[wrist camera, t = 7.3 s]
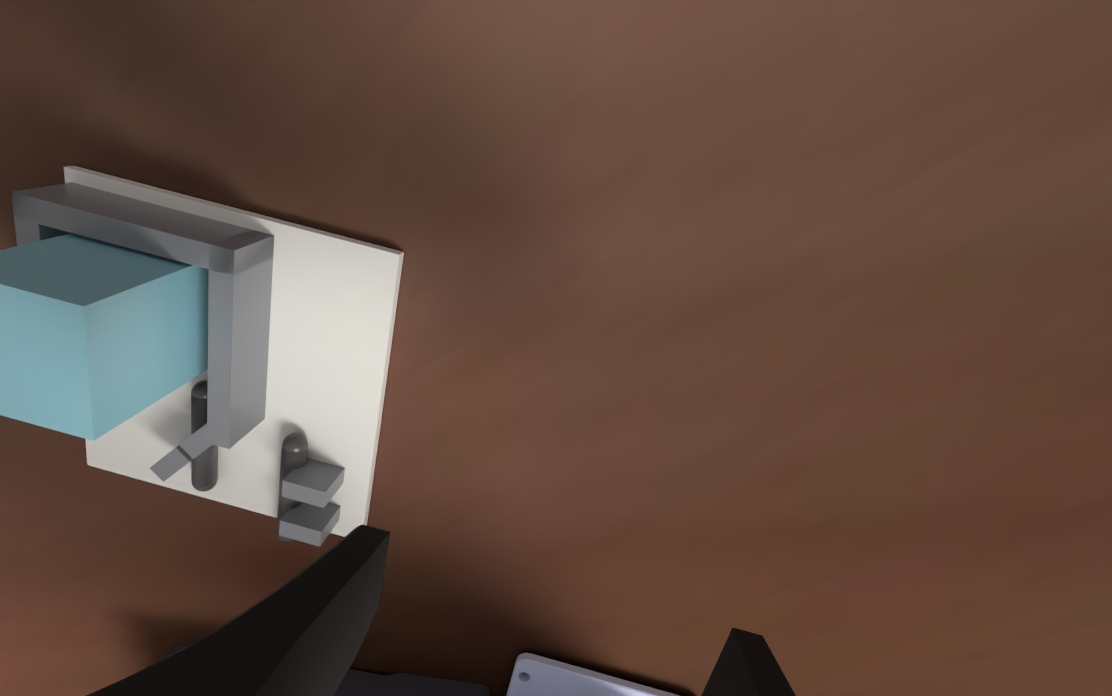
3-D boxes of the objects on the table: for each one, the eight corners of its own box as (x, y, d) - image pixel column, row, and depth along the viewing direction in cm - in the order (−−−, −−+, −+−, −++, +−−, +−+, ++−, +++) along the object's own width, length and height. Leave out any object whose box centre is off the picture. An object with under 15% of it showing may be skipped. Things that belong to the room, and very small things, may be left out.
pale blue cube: (227, 371, 23) (95, 459, 18) (123, 343, 23) (-40, 421, 18) (229, 251, 21) (83, 306, 16) (117, 222, 21) (-66, 266, 16)
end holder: (270, 414, 24) (229, 449, 22) (94, 365, 24) (34, 395, 22) (280, 233, 21) (234, 250, 19) (81, 180, 22) (10, 191, 19)
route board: (364, 543, 26) (342, 578, 24) (95, 468, 26) (54, 496, 24) (404, 252, 21) (380, 267, 19) (73, 165, 21) (19, 172, 20)
